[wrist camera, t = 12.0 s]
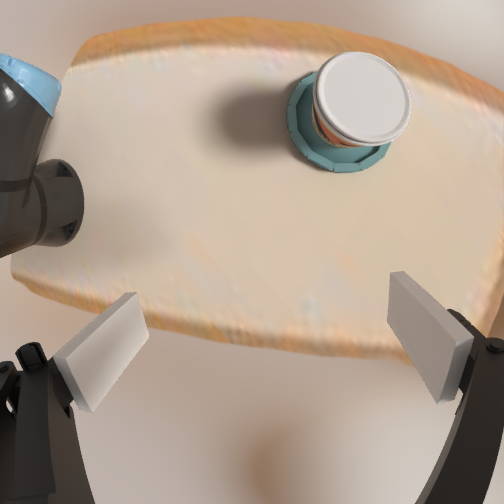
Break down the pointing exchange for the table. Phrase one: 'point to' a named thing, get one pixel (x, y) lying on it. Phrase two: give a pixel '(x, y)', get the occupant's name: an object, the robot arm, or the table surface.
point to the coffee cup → (359, 101)
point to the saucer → (315, 145)
